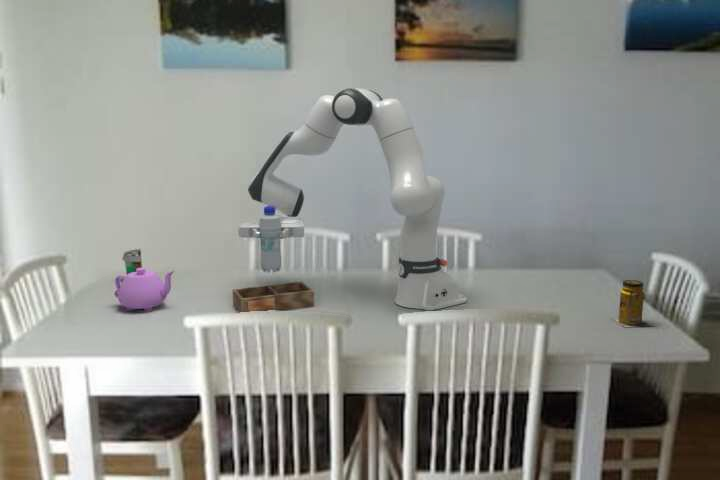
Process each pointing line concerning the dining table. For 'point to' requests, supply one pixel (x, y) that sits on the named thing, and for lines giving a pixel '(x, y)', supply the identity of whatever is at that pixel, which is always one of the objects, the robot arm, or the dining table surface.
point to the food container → (132, 260)
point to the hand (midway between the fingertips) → (269, 235)
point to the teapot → (142, 289)
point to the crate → (273, 297)
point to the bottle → (270, 240)
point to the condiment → (631, 305)
